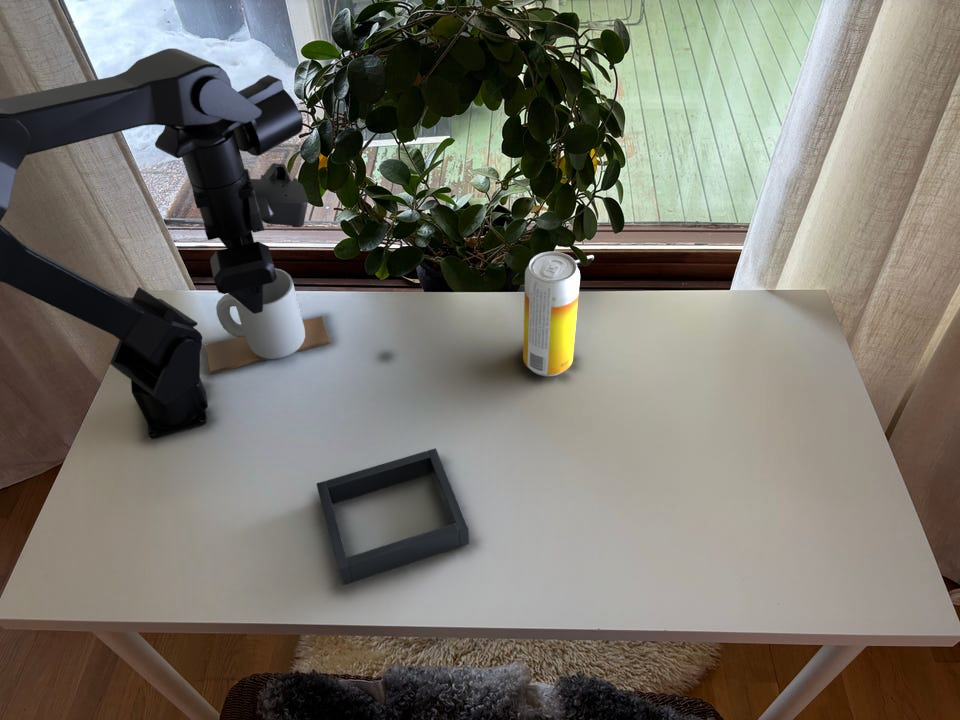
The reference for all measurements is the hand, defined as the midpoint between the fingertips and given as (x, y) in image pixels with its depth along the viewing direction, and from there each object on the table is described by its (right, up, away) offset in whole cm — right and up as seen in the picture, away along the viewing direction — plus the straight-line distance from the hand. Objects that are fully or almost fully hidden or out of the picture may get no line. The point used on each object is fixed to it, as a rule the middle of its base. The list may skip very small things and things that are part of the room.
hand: (252, 287), depth 93 cm
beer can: (+35, -9, +4) cm, 37 cm away
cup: (0, -6, +7) cm, 9 cm away
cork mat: (0, -7, +7) cm, 10 cm away
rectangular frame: (+18, -25, -12) cm, 33 cm away
